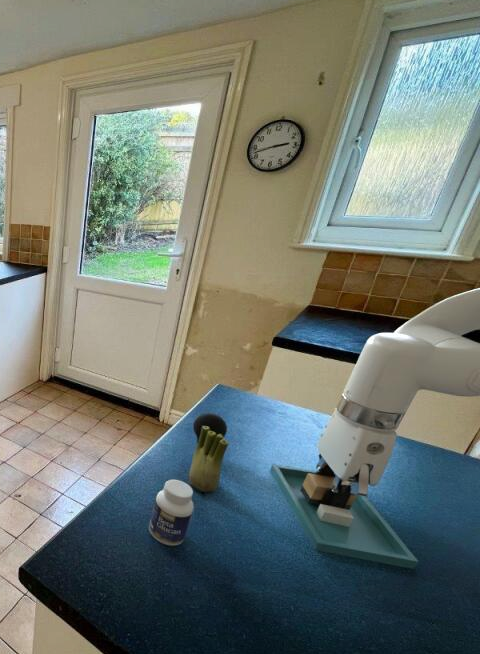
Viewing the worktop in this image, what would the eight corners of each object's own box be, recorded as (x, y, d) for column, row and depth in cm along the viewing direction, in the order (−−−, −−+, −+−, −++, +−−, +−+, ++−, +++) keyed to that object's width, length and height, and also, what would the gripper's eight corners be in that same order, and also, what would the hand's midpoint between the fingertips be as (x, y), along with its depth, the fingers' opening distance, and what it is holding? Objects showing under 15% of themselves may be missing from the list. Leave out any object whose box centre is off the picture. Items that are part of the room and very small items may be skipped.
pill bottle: (149, 542, 67) (161, 495, 62) (147, 517, 71) (158, 473, 67) (186, 550, 65) (201, 503, 61) (181, 525, 70) (195, 480, 66)
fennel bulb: (184, 473, 81) (198, 422, 76) (211, 478, 80) (228, 426, 75) (189, 494, 76) (205, 440, 71) (219, 499, 75) (237, 445, 70)
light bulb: (181, 446, 89) (192, 407, 85) (210, 448, 89) (222, 408, 84) (192, 464, 84) (204, 422, 80) (222, 465, 84) (236, 424, 79)
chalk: (344, 518, 70) (349, 509, 69) (349, 527, 68) (354, 518, 68) (316, 512, 71) (320, 503, 71) (320, 520, 70) (324, 511, 69)
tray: (344, 484, 79) (349, 475, 78) (412, 571, 62) (419, 561, 61) (268, 472, 82) (272, 464, 81) (313, 552, 65) (318, 542, 64)
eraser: (338, 496, 74) (347, 479, 72) (349, 511, 71) (358, 493, 69) (299, 490, 76) (307, 472, 74) (308, 503, 73) (316, 486, 71)
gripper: (434, 445, 57) (377, 540, 65) (368, 389, 71) (327, 473, 79) (369, 436, 59) (321, 530, 67) (317, 384, 73) (282, 466, 81)
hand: (325, 498), depth 73 cm, fingers closed on eraser, 3 cm apart
